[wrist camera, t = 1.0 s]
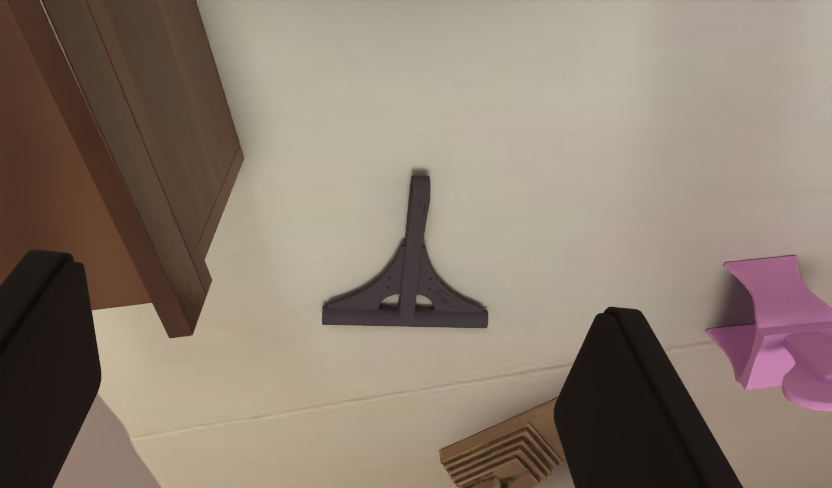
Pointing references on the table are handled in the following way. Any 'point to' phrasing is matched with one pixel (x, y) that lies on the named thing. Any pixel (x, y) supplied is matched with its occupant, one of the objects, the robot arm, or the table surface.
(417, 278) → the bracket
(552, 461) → the banker's lamp
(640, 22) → the table surface
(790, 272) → the toy chair
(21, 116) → the shelf
